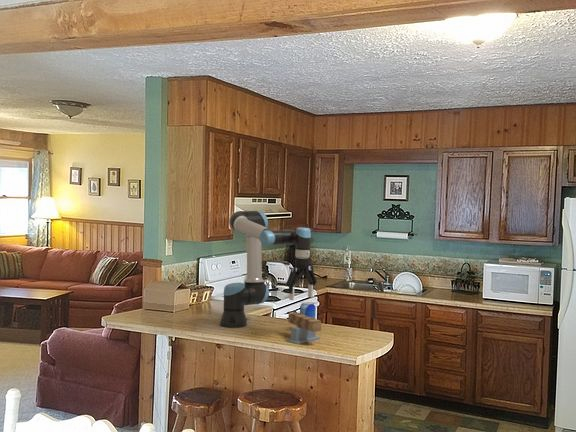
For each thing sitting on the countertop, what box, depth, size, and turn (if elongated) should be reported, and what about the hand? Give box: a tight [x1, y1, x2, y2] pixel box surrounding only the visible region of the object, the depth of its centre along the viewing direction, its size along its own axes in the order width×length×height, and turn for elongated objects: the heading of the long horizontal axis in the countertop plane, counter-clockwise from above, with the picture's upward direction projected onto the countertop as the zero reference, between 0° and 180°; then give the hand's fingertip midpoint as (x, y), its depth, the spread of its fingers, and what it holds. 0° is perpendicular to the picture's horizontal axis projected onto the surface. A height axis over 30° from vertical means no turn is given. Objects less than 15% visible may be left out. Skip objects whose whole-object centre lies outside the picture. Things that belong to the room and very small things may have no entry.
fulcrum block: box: [286, 326, 321, 345], centre depth 304 cm, size 8×16×7 cm, turn 134°
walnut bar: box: [288, 311, 322, 333], centre depth 303 cm, size 24×5×5 cm, turn 29°
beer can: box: [299, 301, 316, 319], centre depth 322 cm, size 8×8×16 cm
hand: (301, 298), depth 306 cm, fingers open, 13 cm apart
